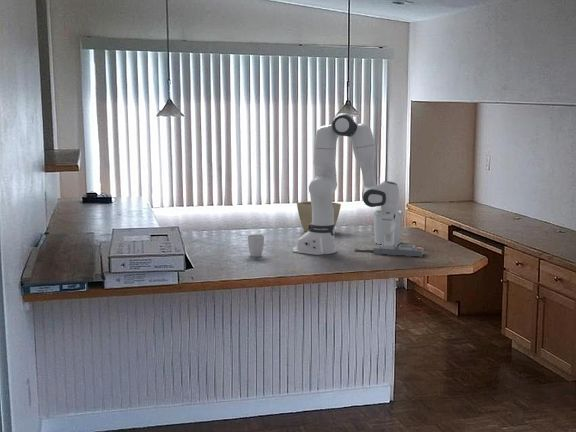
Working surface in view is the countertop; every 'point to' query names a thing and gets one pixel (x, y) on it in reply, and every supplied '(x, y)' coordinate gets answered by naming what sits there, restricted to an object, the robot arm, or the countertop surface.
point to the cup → (256, 245)
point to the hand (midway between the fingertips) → (388, 240)
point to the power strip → (396, 250)
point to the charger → (391, 242)
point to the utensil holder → (378, 228)
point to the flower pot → (306, 213)
